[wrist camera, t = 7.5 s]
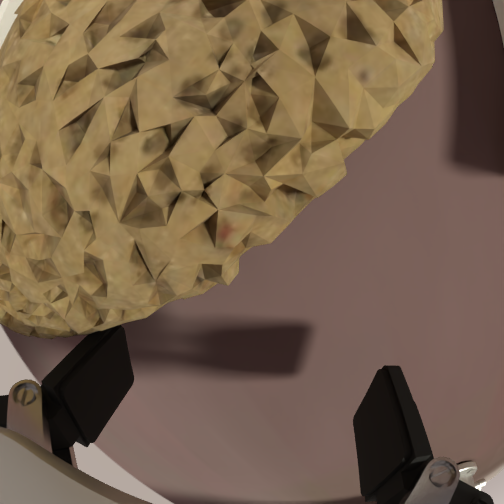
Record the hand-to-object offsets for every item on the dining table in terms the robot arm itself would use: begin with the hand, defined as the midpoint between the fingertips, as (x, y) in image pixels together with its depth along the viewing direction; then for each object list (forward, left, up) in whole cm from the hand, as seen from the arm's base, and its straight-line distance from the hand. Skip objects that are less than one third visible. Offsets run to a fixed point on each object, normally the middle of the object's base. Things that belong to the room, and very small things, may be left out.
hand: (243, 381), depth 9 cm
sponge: (+4, -10, -3) cm, 11 cm away
